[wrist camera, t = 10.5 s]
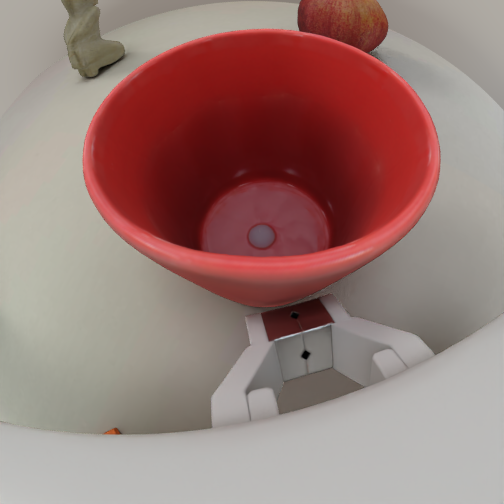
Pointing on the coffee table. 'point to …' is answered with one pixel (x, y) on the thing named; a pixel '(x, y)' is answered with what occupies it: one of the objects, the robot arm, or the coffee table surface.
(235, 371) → the robot arm
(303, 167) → the flower pot
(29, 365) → the coffee table surface
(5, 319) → the coffee table surface
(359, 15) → the fruit
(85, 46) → the sculpture
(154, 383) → the coffee table surface
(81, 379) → the coffee table surface
